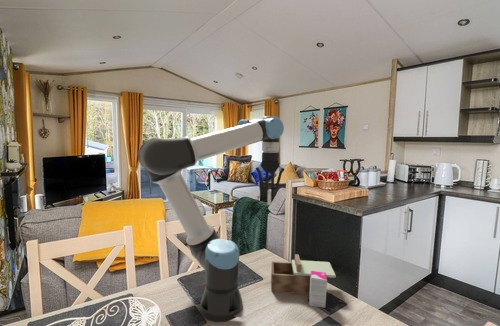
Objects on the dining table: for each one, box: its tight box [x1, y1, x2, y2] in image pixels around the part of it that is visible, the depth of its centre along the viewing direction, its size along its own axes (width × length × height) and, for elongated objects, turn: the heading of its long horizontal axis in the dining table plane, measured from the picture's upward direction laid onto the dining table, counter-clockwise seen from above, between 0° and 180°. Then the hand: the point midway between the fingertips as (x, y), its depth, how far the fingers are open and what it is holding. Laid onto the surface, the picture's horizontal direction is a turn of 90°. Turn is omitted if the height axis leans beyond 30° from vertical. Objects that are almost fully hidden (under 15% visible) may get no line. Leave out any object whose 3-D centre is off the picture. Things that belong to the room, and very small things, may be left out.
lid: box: [291, 253, 337, 279], centre depth 106 cm, size 16×11×4 cm
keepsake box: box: [270, 261, 311, 295], centre depth 107 cm, size 16×11×8 cm
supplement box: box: [308, 271, 328, 308], centre depth 96 cm, size 6×6×12 cm
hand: (269, 204), depth 117 cm, fingers closed
